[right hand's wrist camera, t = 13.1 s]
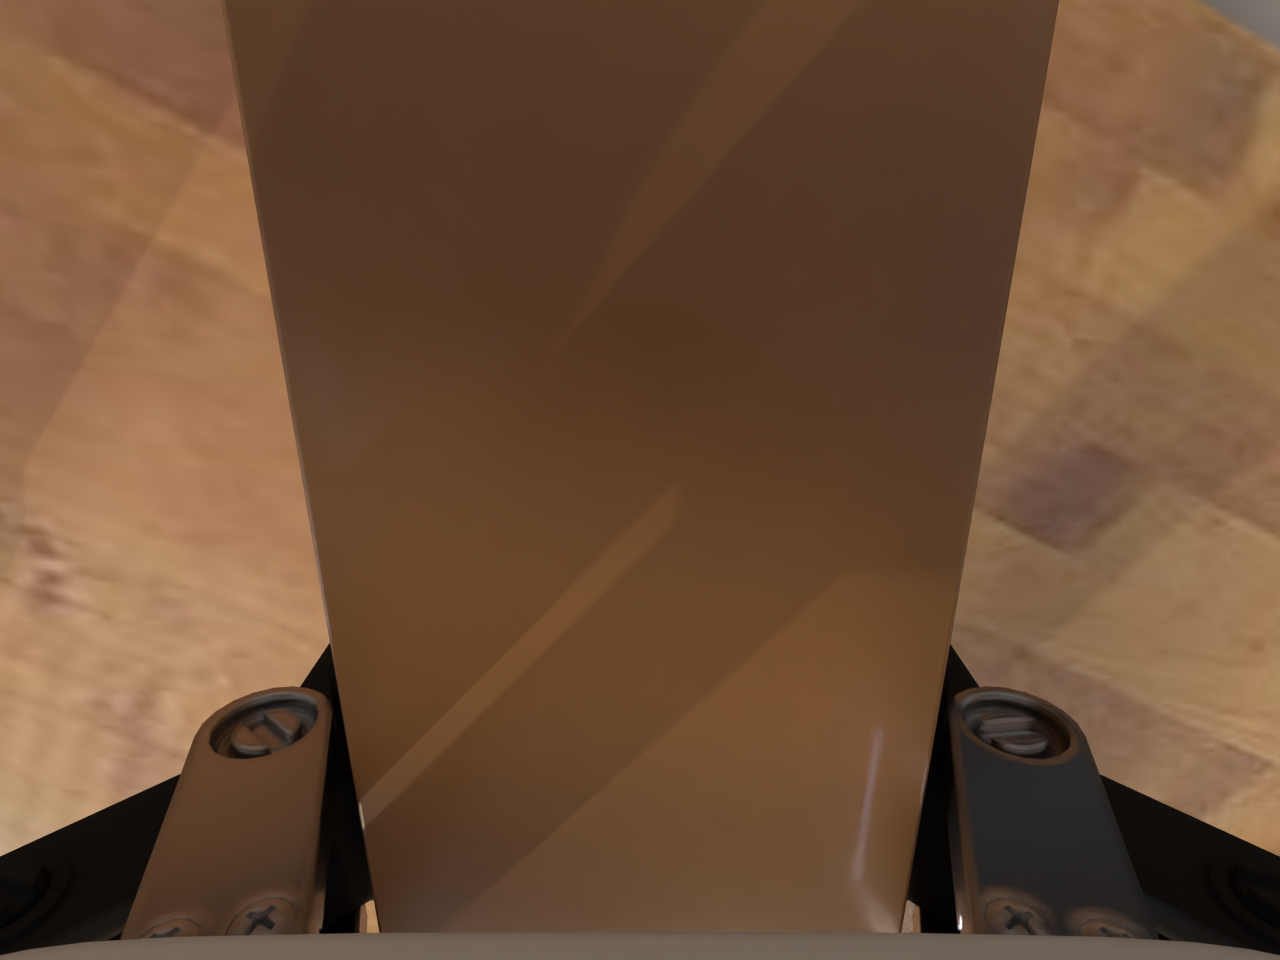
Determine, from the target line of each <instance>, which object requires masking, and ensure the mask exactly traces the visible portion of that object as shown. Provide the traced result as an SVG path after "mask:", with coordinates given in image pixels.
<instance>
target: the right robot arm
mask: <svg viewBox="0 0 1280 960" xmlns="http://www.w3.org/2000/svg"><path fill="white" fill-rule="evenodd" d="M370 900H374V897H373V891H372V885H371V880H370V874H369V868H368V862H367V856H366V850H365V844H364V838H363V833H362V827H361V821H360V815H359V809H358V803H357V797H356V791H355V786H354V780H353V774H352V768H351V762H350V756H349V750H348V744H347V739H346V733H345V727H344V721H343V715H342V709H341V703H340V697H339V692H338V686H337V680H336V674H335V668H334V662H333V656H332V650H331V644H330V643H329V645H328V646H327V648H326V649H325V651H324V652H323V654H322V655H321V657H320V658H319V660H318V661H317V663H316V664H315V666H314V667H313V669H312V670H311V672H310V673H309V674H308V676H307V677H306V679H305V680H304V682H303V683H302V685H301V686H300V687H294V686H292V687H278V688H271V689H267V690H263V691H259V692H254V693H252V694H249V695H247V696H244V697H242V698H239V699H237V700H234V701H232V702H231V703H229V704H227V705H226V706H224V707H222V708H221V709H219V710H217V711H216V712H215V713H214V714H213V715H211V716H210V717H209V718H208V719H207V720H206V721H205V722H204V723H203V724H202V725H201V727H200V729H199V730H198V732H197V733H196V735H195V737H194V739H193V742H192V745H191V748H190V750H189V753H188V756H187V758H186V761H185V764H184V767H183V769H182V772H181V774H179V775H177V776H175V777H173V778H171V779H169V780H166V781H164V782H162V783H160V784H158V785H155V786H153V787H151V788H149V789H147V790H145V791H142V792H140V793H138V794H136V795H134V796H131V797H129V798H127V799H125V800H123V801H120V802H118V803H116V804H114V805H112V806H110V807H107V808H105V809H103V810H101V811H99V812H96V813H94V814H92V815H90V816H88V817H86V818H83V819H81V820H79V821H77V822H75V823H72V824H70V825H68V826H66V827H64V828H62V829H59V830H57V831H55V832H53V833H51V834H48V835H46V836H44V837H42V838H40V839H38V840H35V841H33V842H31V843H29V844H27V845H24V846H22V847H20V848H18V849H16V850H14V851H11V852H9V853H7V854H5V855H3V856H0V960H1280V857H1279V856H1277V855H1275V854H1273V853H1270V852H1268V851H1266V850H1264V849H1262V848H1259V847H1257V846H1255V845H1253V844H1251V843H1249V842H1246V841H1244V840H1242V839H1240V838H1238V837H1235V836H1233V835H1231V834H1229V833H1227V832H1225V831H1222V830H1220V829H1218V828H1216V827H1214V826H1211V825H1209V824H1207V823H1205V822H1203V821H1200V820H1198V819H1196V818H1194V817H1192V816H1190V815H1187V814H1185V813H1183V812H1181V811H1179V810H1176V809H1174V808H1172V807H1170V806H1168V805H1166V804H1163V803H1161V802H1159V801H1157V800H1155V799H1152V798H1150V797H1148V796H1146V795H1144V794H1141V793H1139V792H1137V791H1135V790H1133V789H1131V788H1128V787H1126V786H1124V785H1122V784H1120V783H1117V782H1115V781H1113V780H1111V779H1109V778H1107V777H1104V776H1102V775H1100V774H1099V772H1098V769H1097V767H1096V764H1095V761H1094V758H1093V756H1092V753H1091V750H1090V748H1089V745H1088V742H1087V739H1086V737H1085V735H1084V733H1083V732H1082V730H1081V729H1080V727H1079V725H1078V724H1077V723H1076V722H1075V721H1074V720H1073V719H1072V718H1071V717H1070V716H1069V715H1067V714H1066V713H1065V712H1064V711H1063V710H1061V709H1059V708H1058V707H1056V706H1054V705H1053V704H1051V703H1049V702H1048V701H1046V700H1043V699H1041V698H1038V697H1036V696H1033V695H1031V694H1028V693H1026V692H1021V691H1017V690H1013V689H1009V688H1002V687H988V686H986V687H979V686H978V684H977V683H976V681H975V680H974V679H973V677H972V676H971V674H970V673H969V671H968V670H967V668H966V667H965V665H964V664H963V662H962V661H961V659H960V658H959V656H958V655H957V653H956V652H955V650H954V649H953V648H952V646H951V645H950V647H949V653H948V659H947V665H946V671H945V677H944V682H943V688H942V694H941V700H940V706H939V712H938V718H937V724H936V730H935V736H934V742H933V747H932V753H931V759H930V765H929V771H928V777H927V783H926V789H925V795H924V801H923V807H922V812H921V818H920V824H919V830H918V836H917V842H916V848H915V854H914V860H913V866H912V872H911V877H910V883H909V889H908V895H907V900H910V901H911V902H913V903H914V904H915V907H914V913H913V933H826V932H454V933H367V913H366V907H365V903H367V902H368V901H370Z"/></svg>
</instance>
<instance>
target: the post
mask: <svg viewBox="0 0 1280 960" xmlns="http://www.w3.org/2000/svg"><path fill="white" fill-rule="evenodd" d="M1058 3H1059V0H221V4H222V10H223V16H224V21H225V27H226V33H227V39H228V45H229V51H230V57H231V63H232V68H233V74H234V80H235V86H236V92H237V98H238V104H239V110H240V115H241V121H242V127H243V133H244V139H245V145H246V151H247V157H248V162H249V168H250V174H251V180H252V186H253V192H254V198H255V204H256V210H257V215H258V221H259V227H260V233H261V239H262V245H263V251H264V257H265V262H266V268H267V274H268V280H269V286H270V292H271V298H272V304H273V309H274V315H275V321H276V327H277V333H278V339H279V345H280V351H281V356H282V362H283V368H284V374H285V380H286V386H287V392H288V398H289V403H290V409H291V415H292V421H293V427H294V433H295V439H296V445H297V451H298V456H299V462H300V468H301V474H302V480H303V486H304V492H305V498H306V503H307V509H308V515H309V521H310V527H311V533H312V539H313V545H314V550H315V556H316V562H317V568H318V574H319V580H320V586H321V592H322V597H323V603H324V609H325V615H326V621H327V627H328V633H329V639H330V644H331V650H332V656H333V662H334V668H335V674H336V680H337V686H338V692H339V697H340V703H341V709H342V715H343V721H344V727H345V733H346V739H347V744H348V750H349V756H350V762H351V768H352V774H353V780H354V786H355V791H356V797H357V803H358V809H359V815H360V821H361V827H362V833H363V838H364V844H365V850H366V856H367V862H368V868H369V874H370V880H371V885H372V891H373V897H374V903H375V909H376V915H377V921H378V927H379V932H380V933H454V932H826V933H901V931H902V925H903V919H904V913H905V907H906V901H907V895H908V889H909V883H910V877H911V872H912V866H913V860H914V854H915V848H916V842H917V836H918V830H919V824H920V818H921V812H922V807H923V801H924V795H925V789H926V783H927V777H928V771H929V765H930V759H931V753H932V747H933V742H934V736H935V730H936V724H937V718H938V712H939V706H940V700H941V694H942V688H943V682H944V677H945V671H946V665H947V659H948V653H949V647H950V641H951V635H952V629H953V623H954V617H955V612H956V606H957V600H958V594H959V588H960V582H961V576H962V570H963V564H964V558H965V552H966V547H967V541H968V535H969V529H970V523H971V517H972V511H973V505H974V499H975V493H976V487H977V482H978V476H979V470H980V464H981V458H982V452H983V446H984V440H985V434H986V428H987V422H988V417H989V411H990V405H991V399H992V393H993V387H994V381H995V375H996V369H997V363H998V357H999V351H1000V346H1001V340H1002V334H1003V328H1004V322H1005V316H1006V310H1007V304H1008V298H1009V292H1010V286H1011V281H1012V275H1013V269H1014V263H1015V257H1016V251H1017V245H1018V239H1019V233H1020V227H1021V221H1022V216H1023V210H1024V204H1025V198H1026V192H1027V186H1028V180H1029V174H1030V168H1031V162H1032V156H1033V151H1034V145H1035V139H1036V133H1037V127H1038V121H1039V115H1040V109H1041V103H1042V97H1043V91H1044V86H1045V80H1046V74H1047V68H1048V62H1049V56H1050V50H1051V44H1052V38H1053V32H1054V26H1055V21H1056V15H1057V9H1058Z"/></svg>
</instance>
